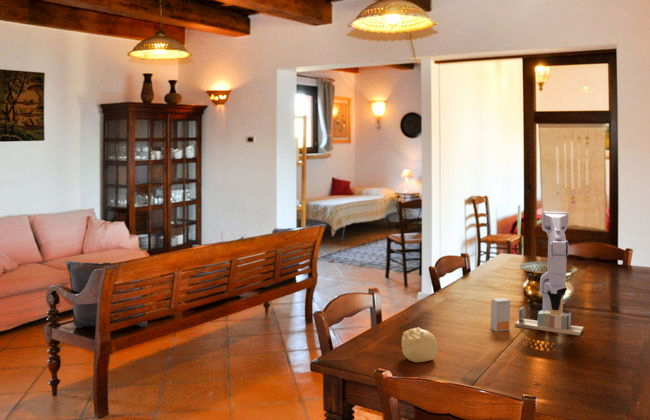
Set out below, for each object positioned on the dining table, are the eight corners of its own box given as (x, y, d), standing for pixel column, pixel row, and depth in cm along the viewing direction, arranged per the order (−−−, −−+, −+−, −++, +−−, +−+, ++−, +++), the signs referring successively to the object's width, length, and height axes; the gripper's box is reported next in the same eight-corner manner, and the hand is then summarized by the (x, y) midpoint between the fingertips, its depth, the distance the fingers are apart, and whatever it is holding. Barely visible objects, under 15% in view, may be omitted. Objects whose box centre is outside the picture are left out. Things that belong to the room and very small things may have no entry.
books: (540, 322, 250) (540, 309, 250) (568, 326, 245) (569, 312, 244) (537, 325, 246) (537, 312, 245) (566, 329, 241) (567, 316, 240)
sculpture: (398, 354, 219) (398, 323, 217) (432, 353, 219) (432, 322, 218) (404, 366, 207) (404, 334, 206) (440, 364, 208) (441, 333, 207)
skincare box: (496, 332, 242) (496, 301, 241) (490, 328, 246) (490, 298, 245) (510, 330, 244) (510, 300, 242) (504, 327, 248) (504, 297, 247)
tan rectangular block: (552, 311, 240) (553, 293, 239) (562, 312, 238) (563, 294, 237) (550, 314, 236) (551, 296, 235) (560, 315, 234) (561, 297, 233)
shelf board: (519, 321, 256) (519, 318, 256) (583, 329, 244) (583, 326, 244) (514, 326, 249) (515, 323, 249) (579, 335, 237) (579, 332, 237)
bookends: (522, 319, 254) (522, 306, 253) (570, 326, 245) (571, 312, 244) (519, 322, 250) (519, 309, 249) (568, 329, 240) (568, 315, 240)
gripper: (550, 268, 243) (549, 302, 245) (542, 275, 231) (541, 311, 233) (569, 269, 240) (568, 304, 242) (563, 277, 227) (561, 314, 229)
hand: (556, 308), depth 237 cm, fingers closed on tan rectangular block, 4 cm apart
